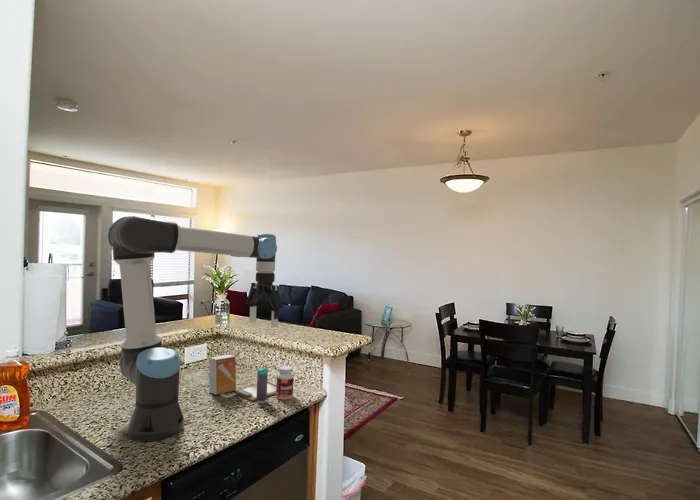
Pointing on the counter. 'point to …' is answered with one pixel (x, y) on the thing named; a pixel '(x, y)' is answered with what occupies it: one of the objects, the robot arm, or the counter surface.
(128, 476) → the counter surface
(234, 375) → the small box
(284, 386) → the pill bottle
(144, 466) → the counter surface
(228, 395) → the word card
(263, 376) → the marker
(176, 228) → the robot arm
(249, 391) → the clipboard
